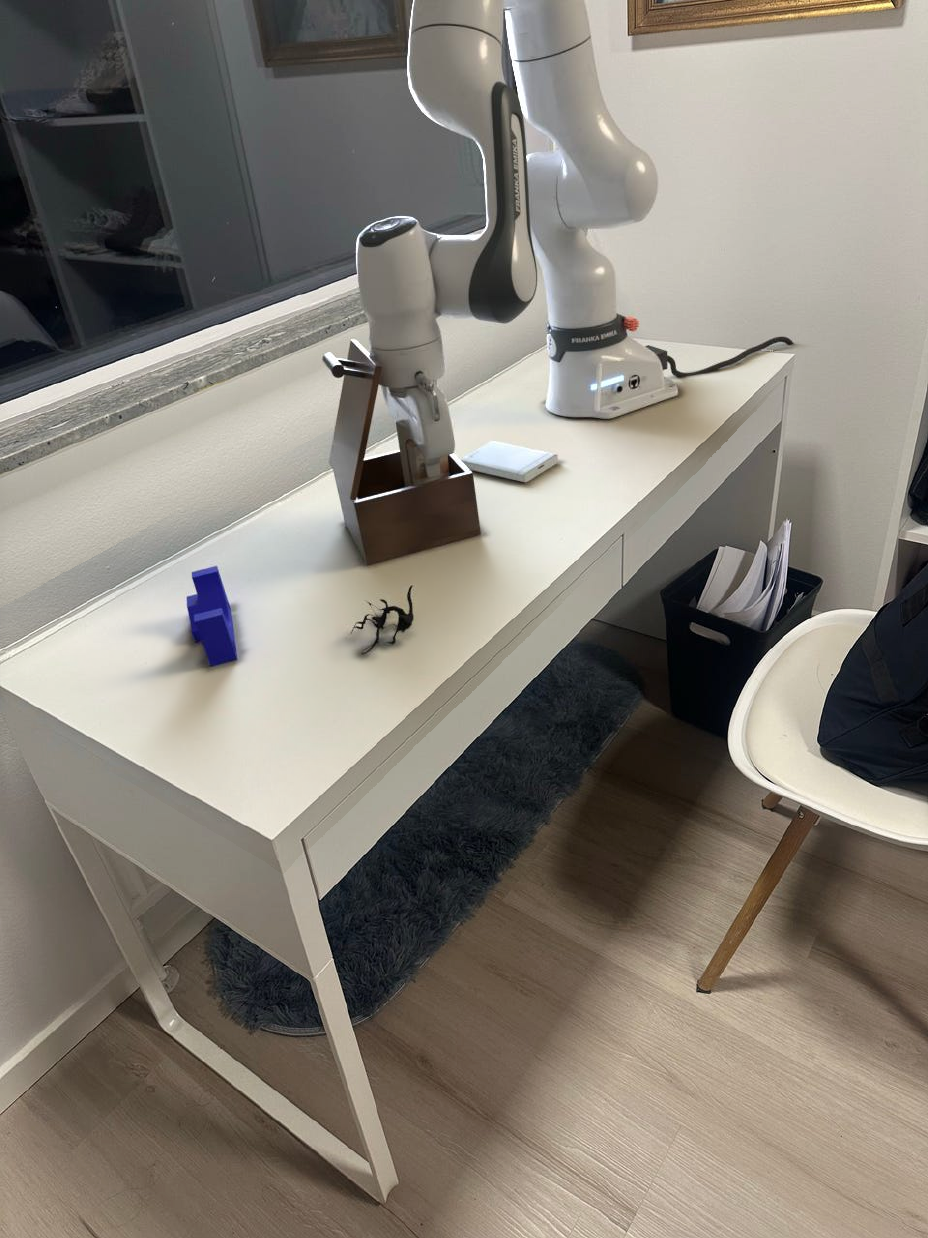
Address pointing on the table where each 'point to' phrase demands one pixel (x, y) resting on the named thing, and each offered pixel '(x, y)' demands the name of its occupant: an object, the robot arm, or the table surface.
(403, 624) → the creature
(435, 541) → the chest
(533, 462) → the hard drive
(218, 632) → the cable clip
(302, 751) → the table surface
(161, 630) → the table surface
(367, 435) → the lid
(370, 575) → the table surface
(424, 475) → the small cardboard box
